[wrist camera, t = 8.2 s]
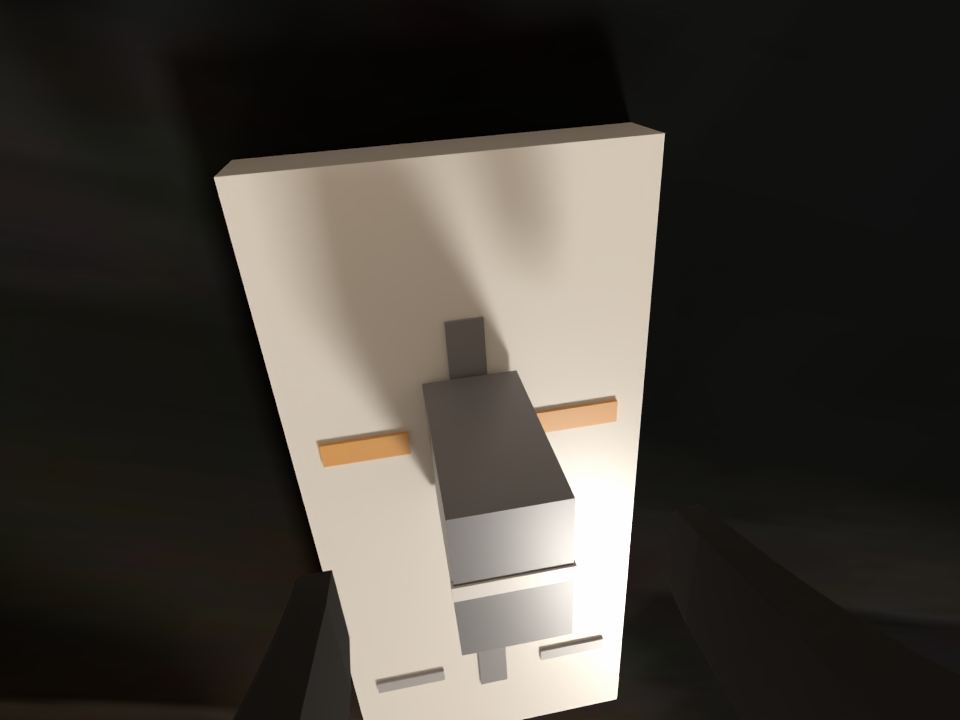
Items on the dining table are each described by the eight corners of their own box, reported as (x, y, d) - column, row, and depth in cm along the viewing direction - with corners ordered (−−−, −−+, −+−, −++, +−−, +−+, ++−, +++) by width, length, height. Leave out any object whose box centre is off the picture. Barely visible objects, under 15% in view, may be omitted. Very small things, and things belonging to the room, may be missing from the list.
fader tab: (435, 501, 17) (460, 658, 13) (420, 384, 15) (442, 522, 11) (522, 486, 18) (575, 634, 13) (518, 369, 16) (578, 499, 11)
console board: (371, 701, 25) (372, 754, 23) (231, 160, 14) (212, 178, 12) (600, 654, 26) (617, 701, 24) (630, 122, 15) (667, 133, 14)
